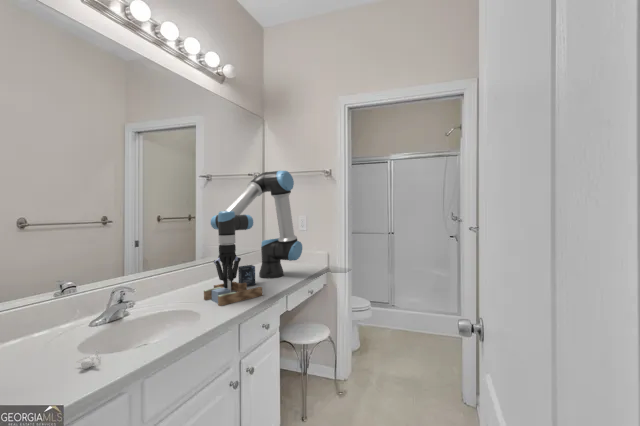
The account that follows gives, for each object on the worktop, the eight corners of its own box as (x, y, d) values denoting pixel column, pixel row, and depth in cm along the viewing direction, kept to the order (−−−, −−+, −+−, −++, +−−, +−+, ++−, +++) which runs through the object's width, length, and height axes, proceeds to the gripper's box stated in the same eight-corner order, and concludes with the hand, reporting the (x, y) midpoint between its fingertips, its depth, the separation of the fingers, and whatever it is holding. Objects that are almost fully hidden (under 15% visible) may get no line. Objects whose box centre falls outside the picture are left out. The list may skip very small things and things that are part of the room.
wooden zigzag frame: (238, 288, 167) (237, 280, 167) (262, 295, 151) (262, 286, 151) (197, 296, 151) (197, 287, 151) (219, 306, 136) (219, 296, 136)
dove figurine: (68, 368, 82) (73, 348, 83) (84, 366, 86) (89, 347, 87) (93, 371, 80) (98, 351, 81) (108, 369, 84) (113, 350, 86)
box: (241, 287, 169) (241, 267, 169) (238, 285, 174) (237, 266, 174) (255, 285, 173) (255, 265, 173) (251, 283, 178) (251, 264, 178)
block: (223, 298, 148) (223, 287, 148) (230, 300, 144) (230, 289, 144) (211, 301, 144) (211, 290, 144) (218, 303, 140) (217, 292, 140)
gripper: (235, 242, 154) (236, 290, 154) (210, 244, 145) (211, 296, 145) (243, 243, 149) (244, 293, 149) (217, 245, 139) (219, 299, 139)
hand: (228, 294), depth 147 cm, fingers closed
